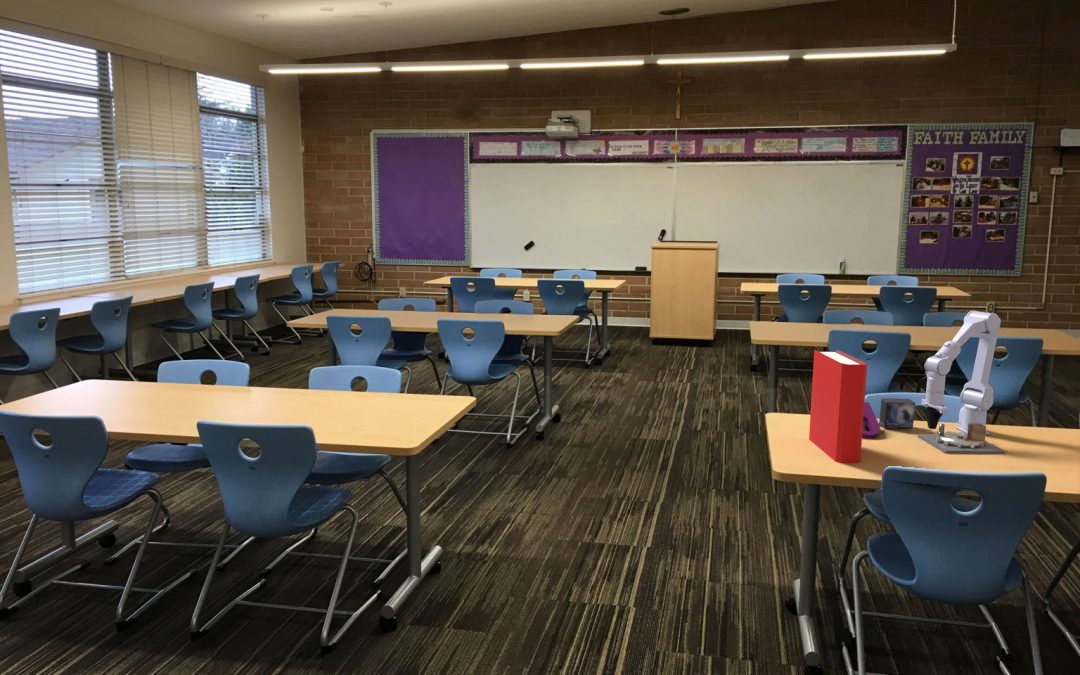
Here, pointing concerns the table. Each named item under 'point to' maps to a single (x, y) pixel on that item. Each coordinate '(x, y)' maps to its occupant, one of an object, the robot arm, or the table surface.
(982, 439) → the link block
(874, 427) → the mounting bracket
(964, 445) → the sprocket
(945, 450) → the base plate
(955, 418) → the table surface
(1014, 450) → the table surface
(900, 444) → the table surface
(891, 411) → the small box
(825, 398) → the book
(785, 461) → the table surface
